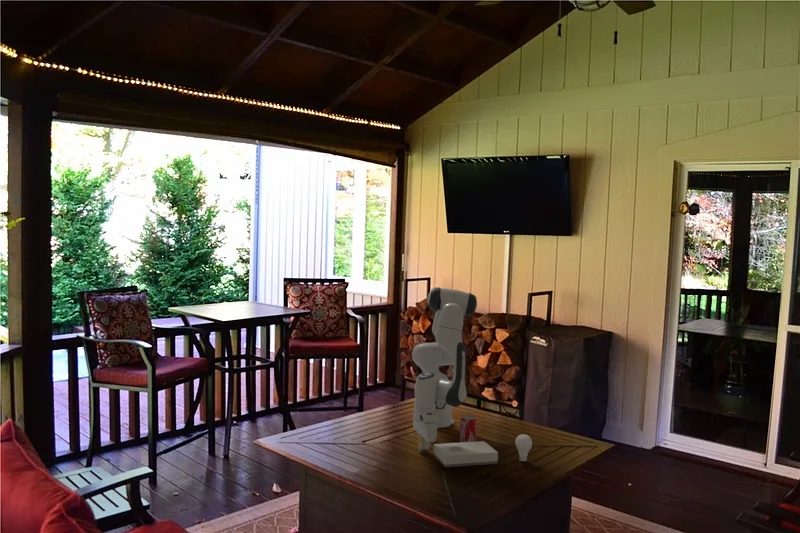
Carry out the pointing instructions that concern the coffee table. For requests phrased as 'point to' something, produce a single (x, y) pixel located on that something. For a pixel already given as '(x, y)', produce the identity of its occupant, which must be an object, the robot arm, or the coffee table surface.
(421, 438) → the olive glossy cylinder
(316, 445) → the coffee table surface
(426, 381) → the robot arm
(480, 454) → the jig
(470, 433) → the soda can
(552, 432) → the coffee table surface
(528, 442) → the light bulb
